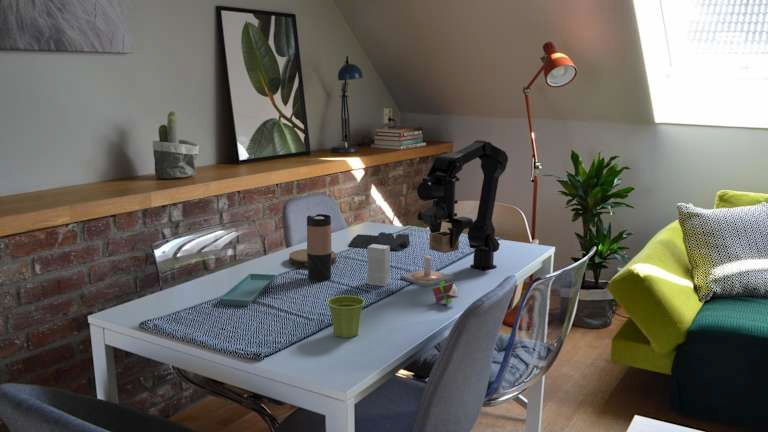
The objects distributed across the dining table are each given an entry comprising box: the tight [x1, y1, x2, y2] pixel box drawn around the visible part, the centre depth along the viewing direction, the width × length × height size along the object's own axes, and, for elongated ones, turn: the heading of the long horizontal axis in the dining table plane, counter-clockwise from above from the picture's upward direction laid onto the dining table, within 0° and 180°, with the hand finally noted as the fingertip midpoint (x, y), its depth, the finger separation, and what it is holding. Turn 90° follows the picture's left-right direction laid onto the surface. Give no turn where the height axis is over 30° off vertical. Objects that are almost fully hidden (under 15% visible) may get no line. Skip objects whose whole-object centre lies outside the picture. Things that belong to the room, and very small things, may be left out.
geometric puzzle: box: [432, 279, 459, 307], centre depth 205 cm, size 7×7×8 cm
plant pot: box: [326, 295, 366, 339], centre depth 181 cm, size 9×9×9 cm
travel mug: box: [306, 213, 333, 283], centre depth 226 cm, size 8×8×20 cm
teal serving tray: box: [218, 273, 278, 307], centre depth 214 cm, size 26×9×2 cm, turn 171°
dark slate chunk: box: [348, 231, 411, 253], centre depth 269 cm, size 15×22×5 cm
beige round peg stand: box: [400, 255, 455, 288], centre depth 227 cm, size 12×12×7 cm
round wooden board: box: [288, 248, 337, 269], centre depth 246 cm, size 16×16×3 cm
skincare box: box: [366, 244, 391, 287], centre depth 222 cm, size 6×4×12 cm
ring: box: [428, 230, 460, 254], centre depth 223 cm, size 6×6×5 cm
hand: (444, 246), depth 224 cm, fingers closed on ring, 6 cm apart
